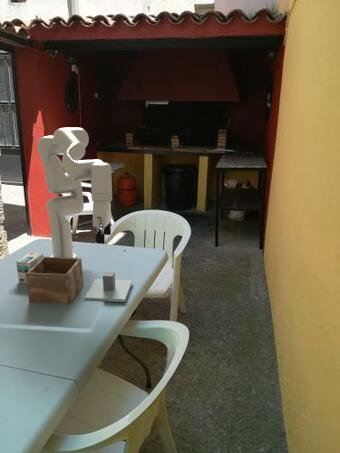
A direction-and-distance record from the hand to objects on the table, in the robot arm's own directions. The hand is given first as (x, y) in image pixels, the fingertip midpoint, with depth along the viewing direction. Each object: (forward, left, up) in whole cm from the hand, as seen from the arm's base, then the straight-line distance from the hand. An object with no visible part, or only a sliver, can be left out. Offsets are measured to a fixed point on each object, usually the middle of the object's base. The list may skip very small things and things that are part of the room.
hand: (103, 238), depth 136 cm
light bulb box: (-8, -35, -24) cm, 43 cm away
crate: (+4, -19, -23) cm, 30 cm away
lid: (0, +1, -23) cm, 23 cm away
